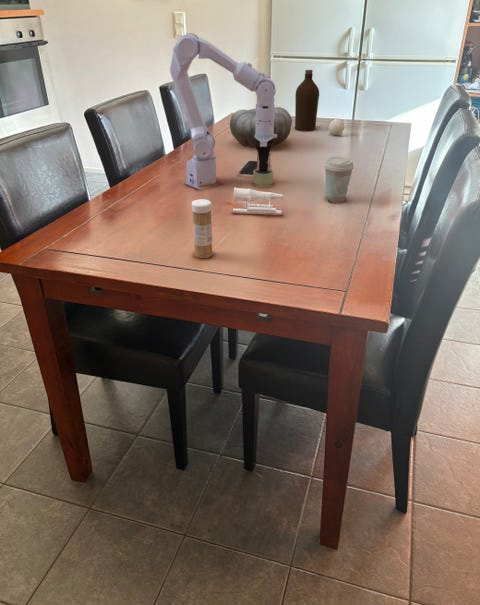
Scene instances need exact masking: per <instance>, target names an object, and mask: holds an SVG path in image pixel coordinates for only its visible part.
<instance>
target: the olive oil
mask: <svg viewBox="0 0 480 605" xmlns="http://www.w3.org/2000/svg"><path fill="white" fill-rule="evenodd" d="M304 72H305V73H304V78H303V81H302V82H301V83H300V84H299V85H298V86H297V87H296V90H295V93H294V94H295V100H294V102H295V104H294V107H295V108H294V109H295V110H294V115H295V116H294V130H296V131H300V132H313V131H315V130H316V127H317V116H318V108H319V102H320V89H319V87H318V85H317V84H316V82H315V81H314V80H313V72H314V71H313V69H305V71H304Z"/></svg>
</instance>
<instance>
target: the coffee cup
mask: <svg viewBox="0 0 480 605" xmlns="http://www.w3.org/2000/svg"><path fill="white" fill-rule="evenodd" d="M323 166H324V169H325V171H324V172H325V173H324V175H325V198H326V199H327V201H328V202H329V203H334V204H340V203H344V202H346V198H347V194H348V189H349V186H350V180H351V178H352V173H353V170H354V168H355V167H354V163H353V160H352V159H351V158H348V157H341V156H334V157H329V158H327V159H326V161H325V163H324V165H323Z"/></svg>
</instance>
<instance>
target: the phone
mask: <svg viewBox="0 0 480 605" xmlns="http://www.w3.org/2000/svg"><path fill="white" fill-rule="evenodd" d="M255 169H257V160H249V161H247V163H246V164H245V165H244V166H243V167H242V168H241V169H240V170H239V175H250V176H253V171H254V170H255Z"/></svg>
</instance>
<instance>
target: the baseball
mask: <svg viewBox="0 0 480 605" xmlns="http://www.w3.org/2000/svg"><path fill="white" fill-rule="evenodd" d="M344 130H345V123H344V122H343V120H342V119H339V118H334V119H332V120H331V121H330V122H329V124H328V132H329V134H330V135H333V136H340V135H341V134H342V133H343V132H344Z"/></svg>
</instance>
